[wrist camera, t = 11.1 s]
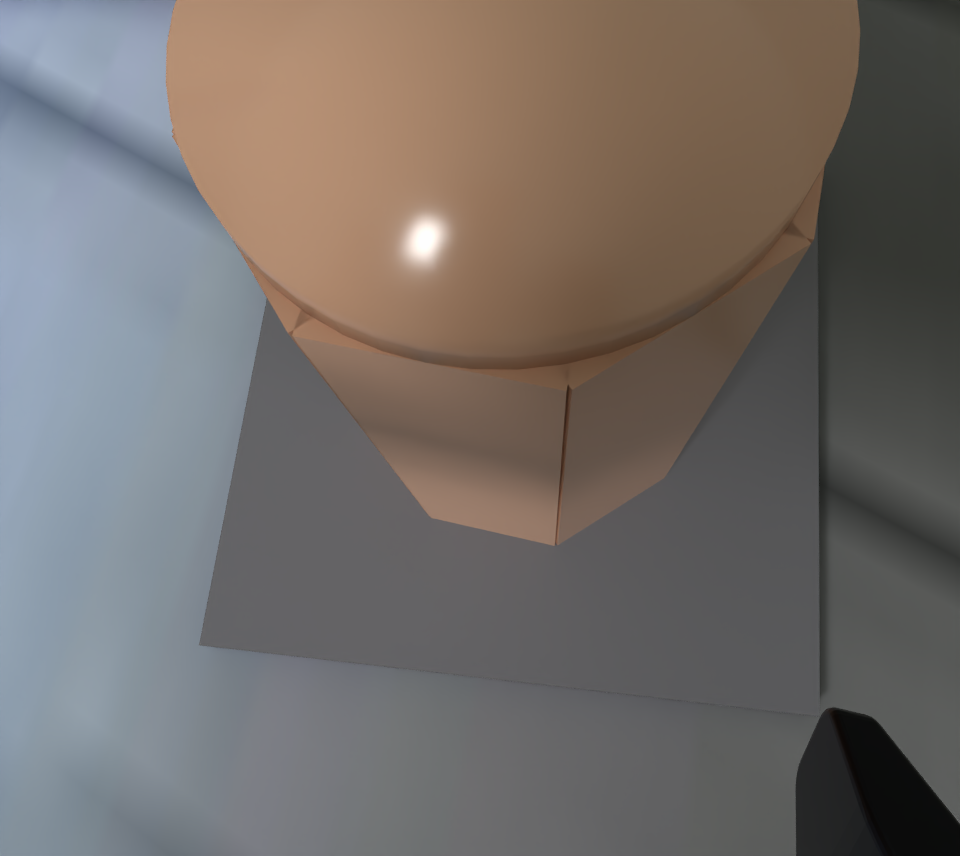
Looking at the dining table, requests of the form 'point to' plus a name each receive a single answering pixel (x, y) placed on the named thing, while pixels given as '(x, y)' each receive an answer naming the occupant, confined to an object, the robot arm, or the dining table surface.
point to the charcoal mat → (541, 547)
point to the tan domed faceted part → (517, 217)
